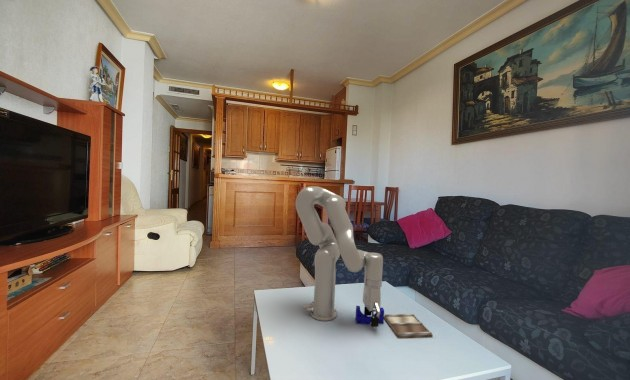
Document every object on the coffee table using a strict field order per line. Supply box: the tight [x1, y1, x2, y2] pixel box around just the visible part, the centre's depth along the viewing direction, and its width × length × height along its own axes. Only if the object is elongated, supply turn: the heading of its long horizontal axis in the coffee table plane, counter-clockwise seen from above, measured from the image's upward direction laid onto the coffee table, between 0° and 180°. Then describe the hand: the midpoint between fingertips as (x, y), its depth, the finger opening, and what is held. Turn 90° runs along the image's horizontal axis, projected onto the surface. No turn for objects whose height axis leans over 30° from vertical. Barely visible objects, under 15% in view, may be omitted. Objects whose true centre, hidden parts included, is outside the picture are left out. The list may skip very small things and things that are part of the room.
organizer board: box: [384, 313, 433, 339], centre depth 114 cm, size 15×15×2 cm
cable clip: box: [355, 305, 385, 326], centre depth 116 cm, size 12×4×6 cm, turn 86°
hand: (371, 320), depth 115 cm, fingers open, 8 cm apart
